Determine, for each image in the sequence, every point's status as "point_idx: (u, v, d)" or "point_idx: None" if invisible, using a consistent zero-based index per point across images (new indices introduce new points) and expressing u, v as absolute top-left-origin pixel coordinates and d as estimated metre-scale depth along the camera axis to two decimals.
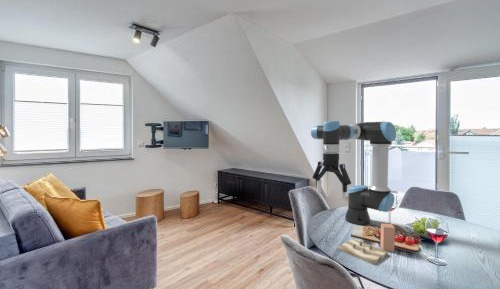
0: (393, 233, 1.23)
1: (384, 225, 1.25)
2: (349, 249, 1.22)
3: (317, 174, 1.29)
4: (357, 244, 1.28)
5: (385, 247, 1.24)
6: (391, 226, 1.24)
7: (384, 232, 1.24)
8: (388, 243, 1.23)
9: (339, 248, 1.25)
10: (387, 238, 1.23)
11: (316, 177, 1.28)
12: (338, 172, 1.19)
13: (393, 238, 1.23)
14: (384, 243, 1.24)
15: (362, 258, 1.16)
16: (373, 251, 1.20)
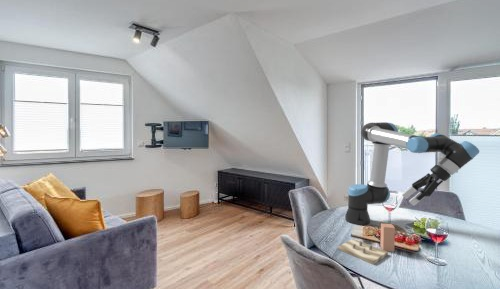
0: (393, 233, 1.23)
1: (384, 225, 1.25)
2: (349, 249, 1.22)
3: None
4: (357, 244, 1.28)
5: (385, 247, 1.24)
6: (391, 226, 1.24)
7: (384, 232, 1.24)
8: (388, 243, 1.23)
9: (339, 248, 1.25)
10: (387, 238, 1.23)
11: None
12: None
13: (393, 238, 1.23)
14: (384, 243, 1.24)
15: (362, 258, 1.16)
16: (373, 251, 1.20)
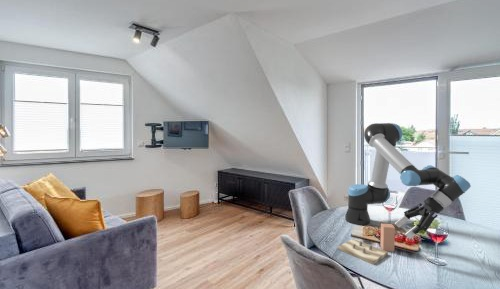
0: (393, 233, 1.23)
1: (384, 225, 1.25)
2: (349, 249, 1.22)
3: None
4: (357, 244, 1.28)
5: (385, 247, 1.24)
6: (391, 226, 1.24)
7: (384, 232, 1.24)
8: (388, 243, 1.23)
9: (339, 248, 1.25)
10: (387, 238, 1.23)
11: None
12: None
13: (393, 238, 1.23)
14: (384, 243, 1.24)
15: (362, 258, 1.16)
16: (373, 251, 1.20)
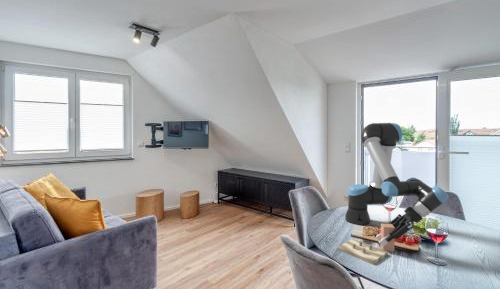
0: None
1: (384, 225, 1.25)
2: (349, 249, 1.22)
3: None
4: (357, 244, 1.28)
5: (385, 247, 1.24)
6: (391, 226, 1.24)
7: (384, 232, 1.24)
8: (388, 243, 1.23)
9: (339, 248, 1.25)
10: None
11: None
12: None
13: None
14: None
15: (362, 258, 1.16)
16: (373, 251, 1.20)
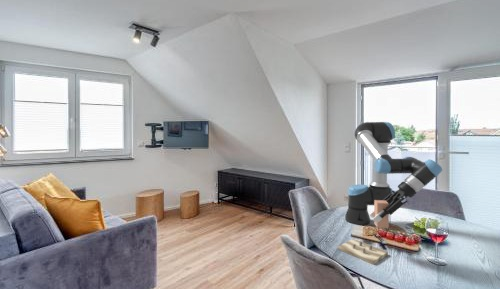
0: None
1: (378, 201, 1.22)
2: (349, 249, 1.22)
3: None
4: (357, 244, 1.28)
5: (379, 224, 1.21)
6: (385, 202, 1.21)
7: (378, 208, 1.20)
8: (382, 219, 1.20)
9: (339, 248, 1.25)
10: None
11: None
12: None
13: (387, 214, 1.20)
14: None
15: (362, 258, 1.16)
16: (373, 251, 1.20)
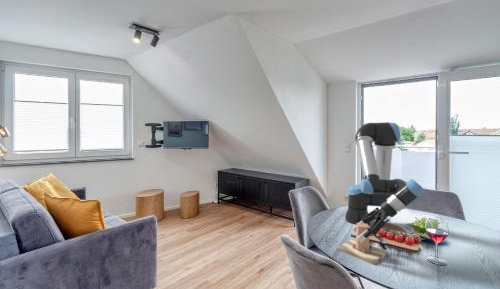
0: None
1: (359, 225, 1.22)
2: (349, 249, 1.22)
3: None
4: None
5: (360, 247, 1.21)
6: (366, 225, 1.21)
7: (359, 232, 1.20)
8: (363, 243, 1.20)
9: (339, 248, 1.25)
10: None
11: None
12: None
13: (368, 238, 1.20)
14: (359, 243, 1.21)
15: (362, 258, 1.16)
16: (373, 251, 1.20)
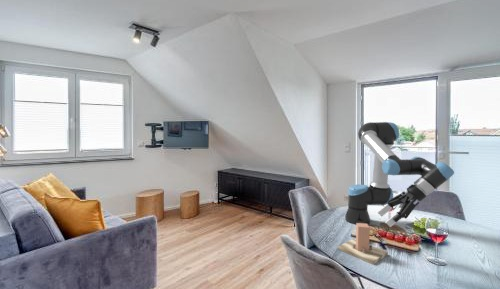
0: (368, 233, 1.19)
1: (359, 225, 1.22)
2: (349, 249, 1.22)
3: None
4: None
5: (360, 247, 1.21)
6: (366, 225, 1.21)
7: (359, 232, 1.20)
8: (363, 243, 1.20)
9: (339, 248, 1.25)
10: (362, 238, 1.20)
11: None
12: None
13: (368, 238, 1.20)
14: (359, 243, 1.21)
15: (362, 258, 1.16)
16: (373, 251, 1.20)
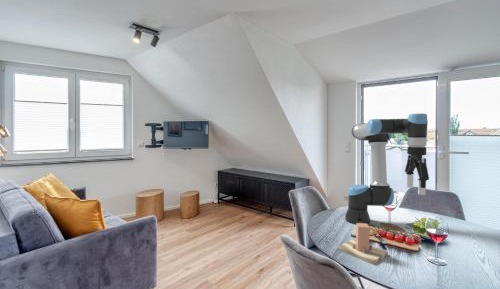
0: (368, 233, 1.19)
1: (359, 225, 1.22)
2: (349, 249, 1.22)
3: None
4: None
5: (360, 247, 1.21)
6: (366, 225, 1.21)
7: (359, 232, 1.20)
8: (363, 243, 1.20)
9: (339, 248, 1.25)
10: (362, 238, 1.20)
11: None
12: None
13: (368, 238, 1.20)
14: (359, 243, 1.21)
15: (362, 258, 1.16)
16: (373, 251, 1.20)
